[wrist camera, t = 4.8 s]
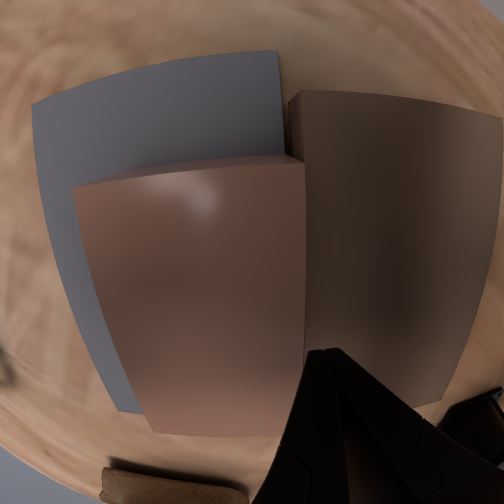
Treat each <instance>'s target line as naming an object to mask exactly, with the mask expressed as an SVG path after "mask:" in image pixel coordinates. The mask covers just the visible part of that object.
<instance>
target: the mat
mask: <svg viewBox="0 0 504 504" xmlns="http://www.w3.org/2000/svg"><path fill="white" fill-rule="evenodd" d="M32 125H33V139H34V150H35V159H36V167H37V174H38V181H39V187H40V193H41V199H42V204H43V209H44V214H45V219H46V224H47V228H48V232H49V237H50V241H51V245H52V248H53V252H54V256H55V260H56V263H57V267H58V270H59V273H60V276H61V280H62V283H63V286H64V289H65V292H66V295H67V298H68V301H69V304H70V306H71V309H72V312H73V315H74V317H75V320H76V322H77V325H78V328H79V330H80V333H81V335H82V337H83V340H84V342H85V345H86V347H87V349H88V351H89V354H90V356H91V358H92V360H93V363H94V365H95V367H96V369H97V371H98V373H99V375H100V377H101V379H102V381H103V383H104V385H105V387H106V389H107V391H108V393H109V395H110V397H111V399H112V400H113V402H114V404H115V406H116V408H117V410H118V411H121V412H128V413H136V414H144V413H143V411H142V409H141V407H140V405H139V403H138V400H137V398H136V396H135V394H134V392H133V390H132V387H131V385H130V383H129V381H128V378H127V376H126V374H125V371H124V369H123V367H122V364H121V362H120V359H119V357H118V354H117V352H116V349H115V347H114V344H113V341H112V339H111V336H110V333H109V330H108V328H107V325H106V322H105V319H104V316H103V313H102V310H101V307H100V304H99V301H98V297H97V294H96V291H95V287H94V284H93V281H92V277H91V273H90V270H89V266H88V262H87V258H86V254H85V250H84V246H83V242H82V238H81V233H80V228H79V224H78V219H77V214H76V208H75V203H74V197H73V191H72V188H75V187H77V186H80V185H83V184H86V183H89V182H91V181H94V180H97V179H100V178H103V177H106V176H109V175H112V174H115V173H119V172H122V171H125V170H129V169H135V168H142V167H149V166H156V165H163V164H171V163H179V162H188V161H197V160H207V159H218V158H230V157H243V156H259V155H281V154H285V145H284V128H283V113H282V99H281V86H280V73H279V61H278V51H255V52H239V53H228V54H218V55H210V56H202V57H195V58H188V59H182V60H176V61H171V62H165V63H160V64H155V65H151V66H146V67H142V68H138V69H134V70H130V71H126V72H122V73H118V74H115V75H111V76H108V77H104V78H101V79H98V80H95V81H91V82H88V83H85V84H82V85H79V86H77V87H74V88H71V89H68V90H66V91H63V92H60V93H58V94H55V95H53V96H50V97H48V98H45V99H43V100H41V101H38V102H36V103H34V104H32Z"/></svg>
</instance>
